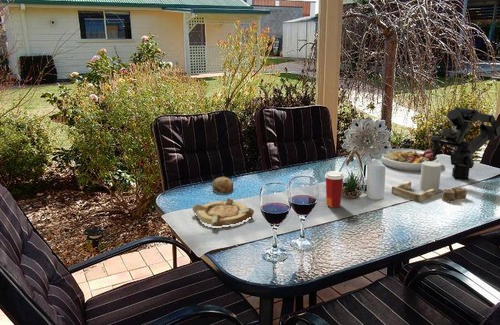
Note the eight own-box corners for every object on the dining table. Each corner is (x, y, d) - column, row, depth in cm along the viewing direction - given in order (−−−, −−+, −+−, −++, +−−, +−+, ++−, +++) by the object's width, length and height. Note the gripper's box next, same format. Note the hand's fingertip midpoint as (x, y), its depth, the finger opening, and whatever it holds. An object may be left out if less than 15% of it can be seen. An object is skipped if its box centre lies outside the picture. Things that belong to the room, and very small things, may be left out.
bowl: (397, 174, 216) (398, 160, 214) (369, 159, 244) (370, 145, 242) (450, 170, 222) (451, 155, 219) (417, 155, 250) (418, 142, 248)
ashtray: (194, 233, 156) (193, 220, 155) (192, 208, 179) (191, 197, 178) (257, 227, 160) (257, 215, 158) (248, 204, 182) (247, 193, 181)
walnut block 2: (459, 196, 185) (460, 187, 184) (465, 199, 182) (466, 190, 181) (451, 196, 185) (452, 188, 184) (457, 200, 181) (458, 191, 180)
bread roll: (210, 197, 200) (206, 185, 195) (219, 182, 207) (215, 170, 202) (230, 200, 196) (226, 187, 191) (237, 184, 203) (234, 172, 198)
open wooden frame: (408, 187, 197) (409, 181, 196) (434, 195, 186) (435, 189, 185) (391, 193, 190) (391, 186, 189) (417, 201, 180) (418, 195, 179)
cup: (435, 186, 198) (438, 161, 195) (441, 192, 190) (444, 166, 187) (417, 185, 199) (419, 161, 195) (422, 191, 191) (424, 166, 188)
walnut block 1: (452, 198, 182) (453, 190, 181) (453, 202, 179) (454, 193, 178) (442, 197, 184) (443, 189, 183) (442, 201, 180) (443, 192, 179)
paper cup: (344, 203, 180) (346, 171, 176) (340, 209, 173) (341, 177, 169) (326, 200, 183) (327, 169, 179) (321, 207, 176) (322, 175, 172)
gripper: (433, 118, 201) (417, 146, 198) (472, 124, 186) (455, 154, 183) (442, 132, 207) (427, 158, 205) (480, 138, 192) (464, 167, 190)
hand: (442, 159), depth 195 cm, fingers open, 9 cm apart
